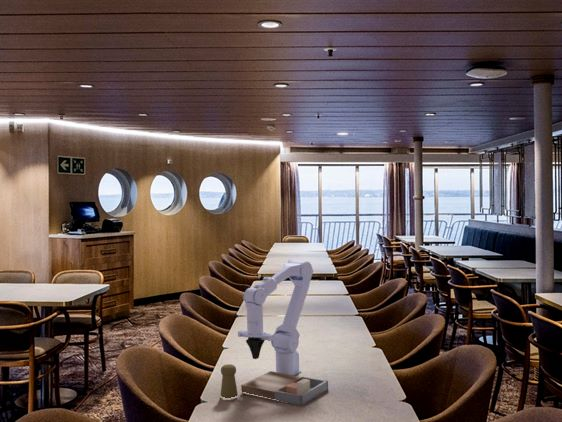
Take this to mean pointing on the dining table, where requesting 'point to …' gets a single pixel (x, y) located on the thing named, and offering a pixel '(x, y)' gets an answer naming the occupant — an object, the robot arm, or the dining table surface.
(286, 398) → the box
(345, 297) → the dining table surface
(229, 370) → the cork
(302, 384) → the cream tile
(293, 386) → the terracotta tile
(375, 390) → the dining table surface
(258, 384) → the tan slab
